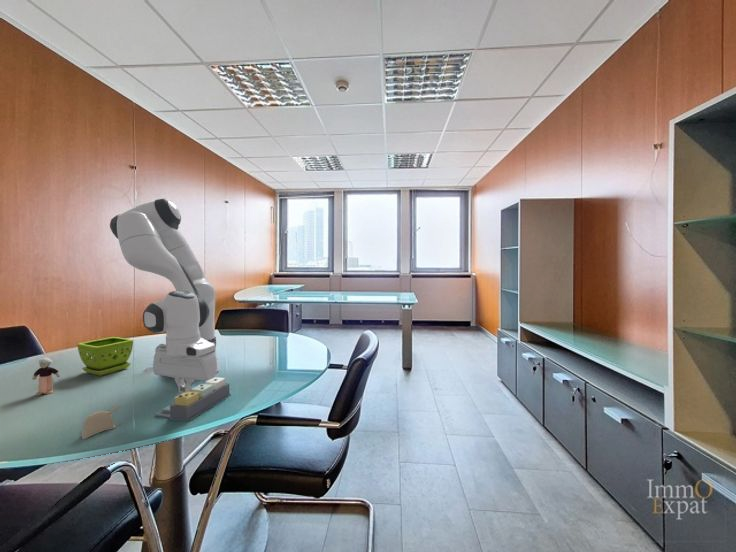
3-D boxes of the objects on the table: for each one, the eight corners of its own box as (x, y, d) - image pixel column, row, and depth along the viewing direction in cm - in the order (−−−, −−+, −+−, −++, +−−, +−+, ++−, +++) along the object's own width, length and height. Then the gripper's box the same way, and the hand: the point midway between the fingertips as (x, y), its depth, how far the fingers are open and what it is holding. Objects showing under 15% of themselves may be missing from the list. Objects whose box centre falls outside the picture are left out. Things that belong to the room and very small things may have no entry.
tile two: (191, 400, 96) (190, 388, 96) (201, 394, 100) (201, 383, 100) (202, 401, 95) (202, 390, 95) (213, 395, 99) (212, 384, 99)
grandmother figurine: (28, 397, 103) (26, 360, 103) (34, 393, 107) (32, 357, 106) (59, 393, 107) (57, 357, 106) (63, 388, 110) (62, 354, 110)
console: (155, 416, 91) (155, 403, 91) (201, 391, 108) (201, 380, 108) (188, 421, 88) (188, 407, 88) (230, 394, 105) (230, 383, 105)
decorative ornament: (79, 434, 81) (78, 415, 81) (118, 421, 88) (117, 403, 88) (82, 439, 79) (81, 419, 79) (122, 425, 86) (122, 407, 85)
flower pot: (97, 379, 120) (95, 347, 119) (77, 374, 125) (75, 343, 124) (135, 367, 133) (134, 338, 132) (115, 363, 138) (114, 335, 137)
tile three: (174, 409, 90) (174, 396, 90) (186, 402, 94) (186, 390, 94) (187, 410, 89) (186, 398, 89) (198, 403, 93) (198, 392, 93)
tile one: (205, 392, 102) (205, 381, 101) (215, 386, 106) (214, 376, 106) (216, 393, 101) (216, 382, 100) (225, 388, 105) (225, 377, 105)
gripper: (146, 346, 90) (147, 391, 91) (203, 351, 85) (204, 399, 86) (165, 340, 96) (166, 383, 97) (220, 345, 91) (220, 390, 92)
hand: (184, 391), depth 91 cm, fingers closed
